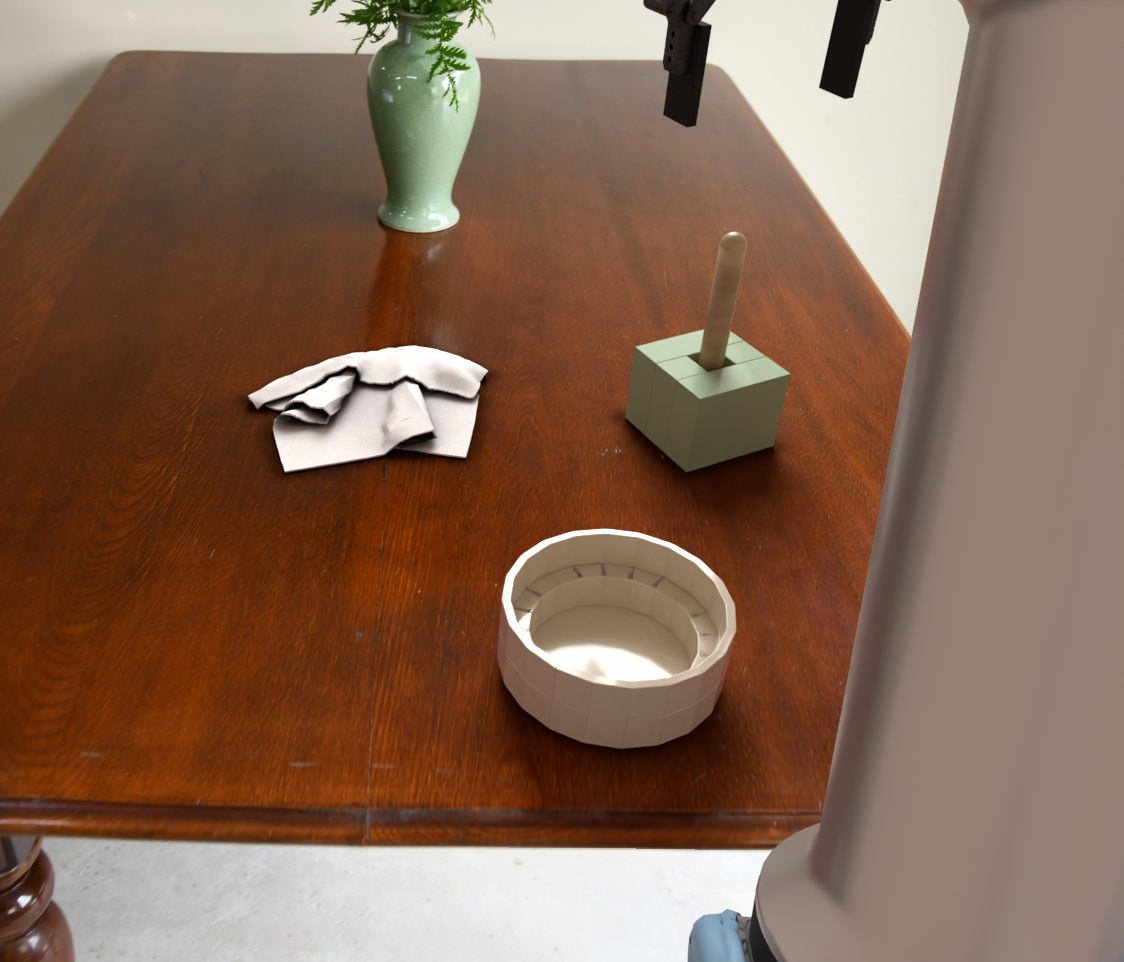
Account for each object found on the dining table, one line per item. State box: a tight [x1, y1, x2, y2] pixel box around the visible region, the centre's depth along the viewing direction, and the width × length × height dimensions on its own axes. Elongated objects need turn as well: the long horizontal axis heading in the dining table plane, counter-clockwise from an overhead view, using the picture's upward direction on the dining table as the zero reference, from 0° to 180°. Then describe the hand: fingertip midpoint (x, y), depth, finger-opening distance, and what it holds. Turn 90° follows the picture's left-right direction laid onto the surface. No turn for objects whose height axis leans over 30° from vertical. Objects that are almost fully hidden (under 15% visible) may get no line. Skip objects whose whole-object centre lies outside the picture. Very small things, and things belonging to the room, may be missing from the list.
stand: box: [624, 328, 792, 473], centre depth 93 cm, size 9×9×7 cm
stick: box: [698, 231, 748, 372], centre depth 90 cm, size 2×2×18 cm
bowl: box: [496, 528, 738, 750], centre depth 71 cm, size 14×14×6 cm
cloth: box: [247, 345, 489, 474], centre depth 97 cm, size 20×22×2 cm
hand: (759, 106), depth 79 cm, fingers open, 13 cm apart
